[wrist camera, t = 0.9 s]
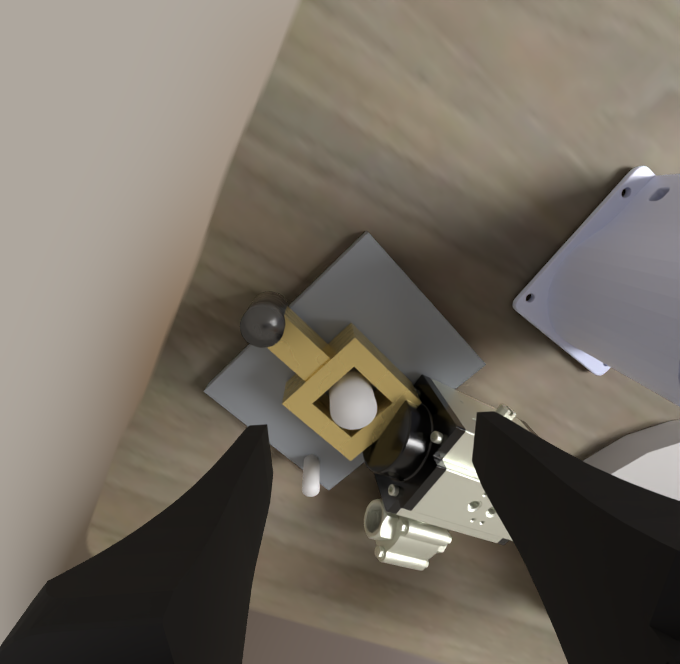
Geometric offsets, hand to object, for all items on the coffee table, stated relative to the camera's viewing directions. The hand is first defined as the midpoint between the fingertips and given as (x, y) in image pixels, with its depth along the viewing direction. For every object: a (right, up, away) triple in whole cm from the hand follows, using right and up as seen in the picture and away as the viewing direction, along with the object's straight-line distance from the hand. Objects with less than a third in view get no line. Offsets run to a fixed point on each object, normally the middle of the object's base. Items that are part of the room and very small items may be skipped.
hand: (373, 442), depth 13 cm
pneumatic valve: (+2, -11, +11) cm, 16 cm away
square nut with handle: (-2, +2, +8) cm, 9 cm away
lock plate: (-1, +1, +10) cm, 10 cm away
